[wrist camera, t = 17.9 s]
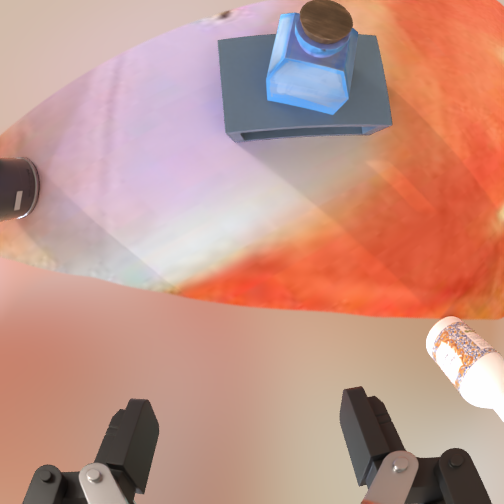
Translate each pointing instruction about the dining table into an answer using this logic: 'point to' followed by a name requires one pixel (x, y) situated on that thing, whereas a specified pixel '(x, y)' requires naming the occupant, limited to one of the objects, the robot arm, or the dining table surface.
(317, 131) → the shelf
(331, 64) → the perfume bottle
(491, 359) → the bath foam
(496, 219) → the dining table surface
